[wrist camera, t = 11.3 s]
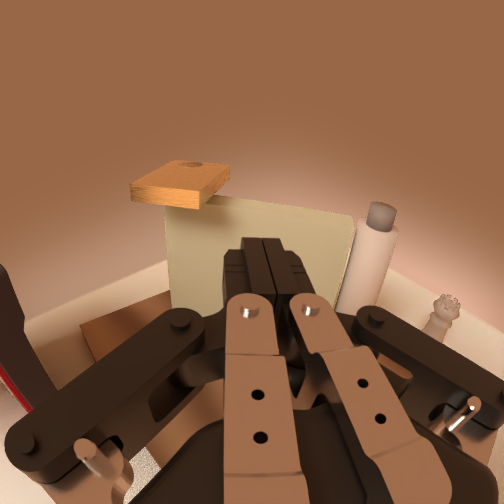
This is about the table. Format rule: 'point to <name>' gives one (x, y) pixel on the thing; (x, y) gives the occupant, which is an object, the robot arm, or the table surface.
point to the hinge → (292, 238)
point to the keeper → (181, 184)
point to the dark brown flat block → (19, 353)
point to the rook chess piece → (442, 317)
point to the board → (204, 403)
